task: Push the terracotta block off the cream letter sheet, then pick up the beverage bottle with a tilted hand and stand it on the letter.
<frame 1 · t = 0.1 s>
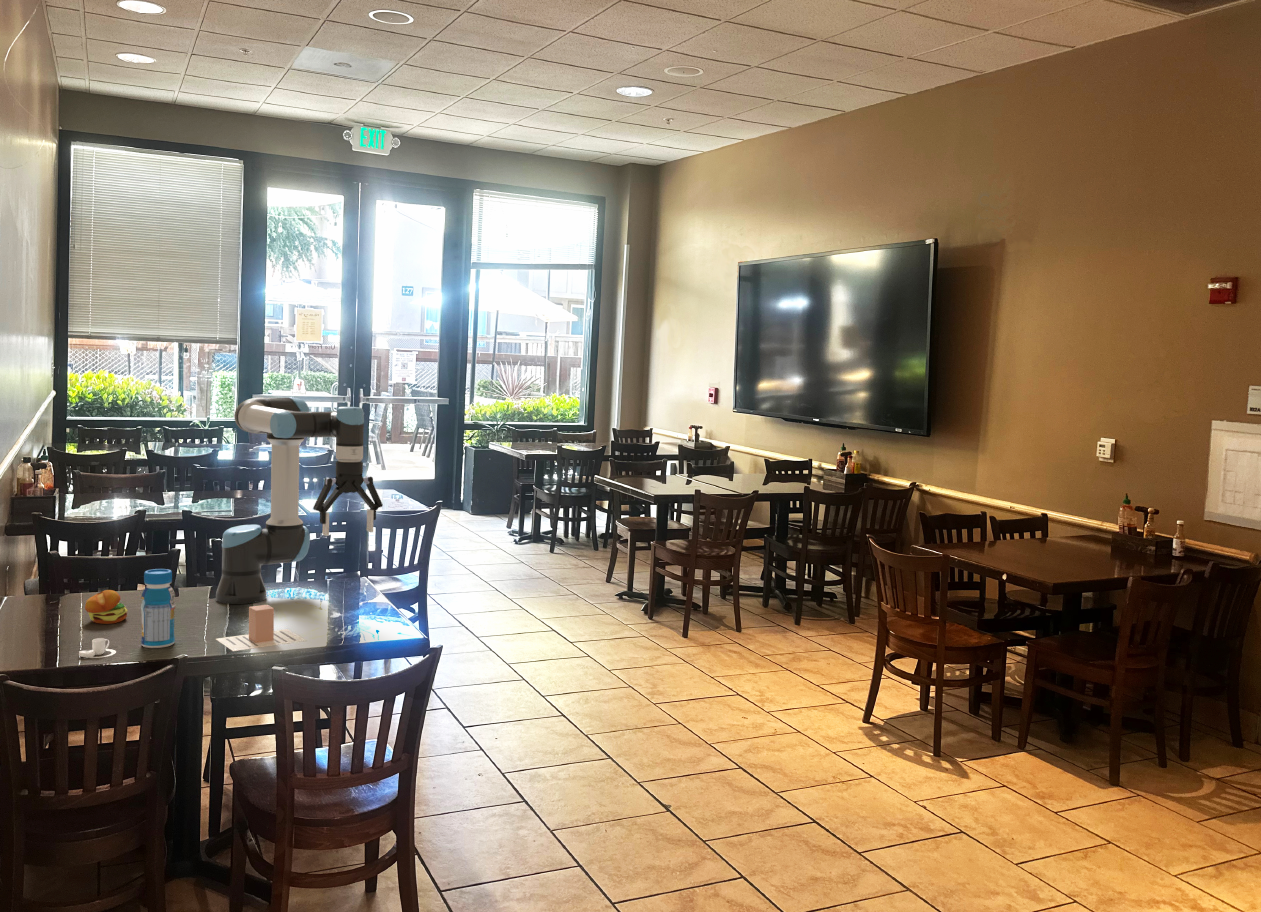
hand: (348, 533, 294), 28 cm above the table, fingers open, 13 cm apart
cheeseburger: (107, 621, 293), on the table
beverage bottle: (158, 645, 272), on the table
teacup and saucer: (86, 655, 262), on the table
letter: (261, 640, 280), on the table
block: (261, 639, 280), resting on letter
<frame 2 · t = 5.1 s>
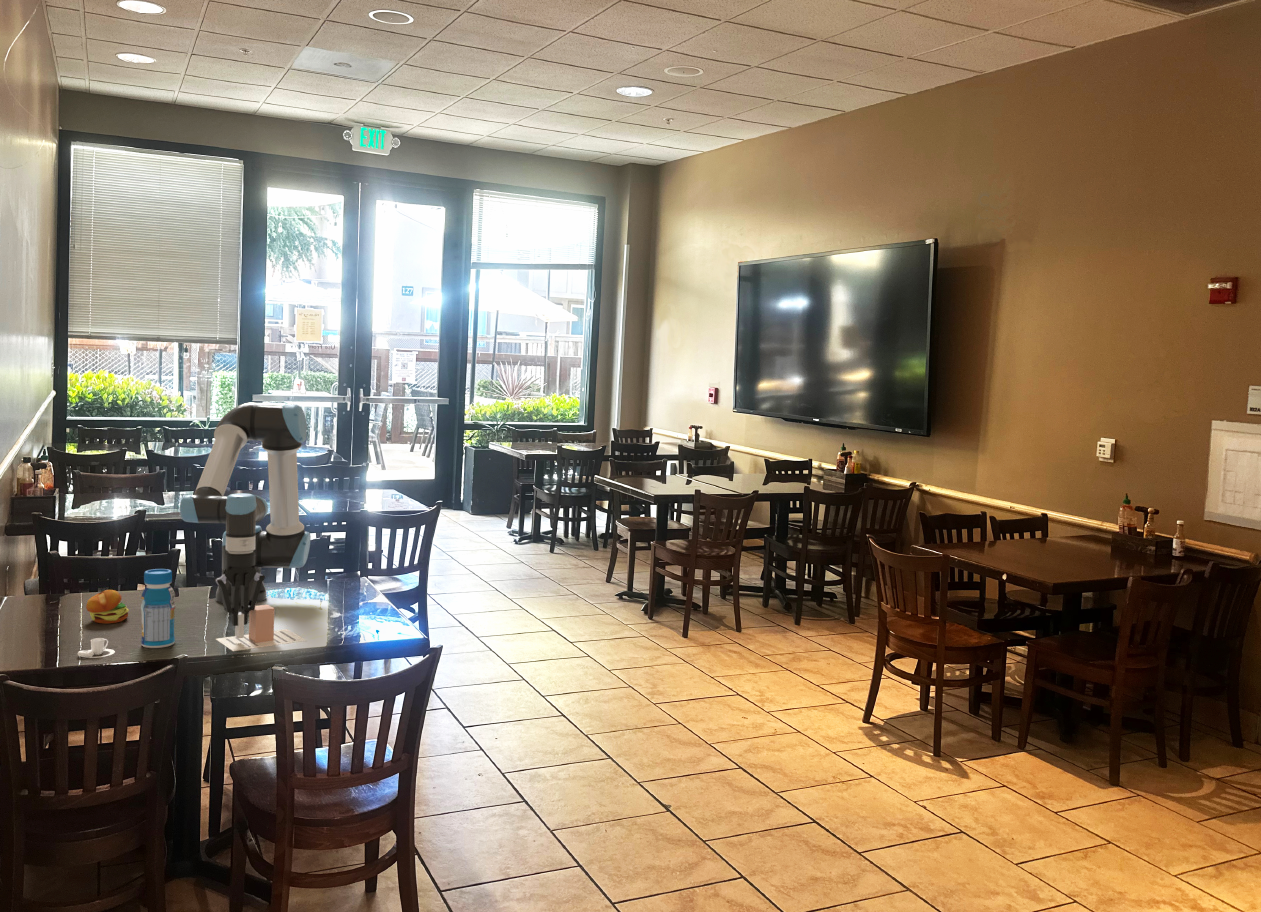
hand: (239, 636, 276), 2 cm above the table, fingers closed
block: (261, 639, 280), resting on letter, touching gripper, hand
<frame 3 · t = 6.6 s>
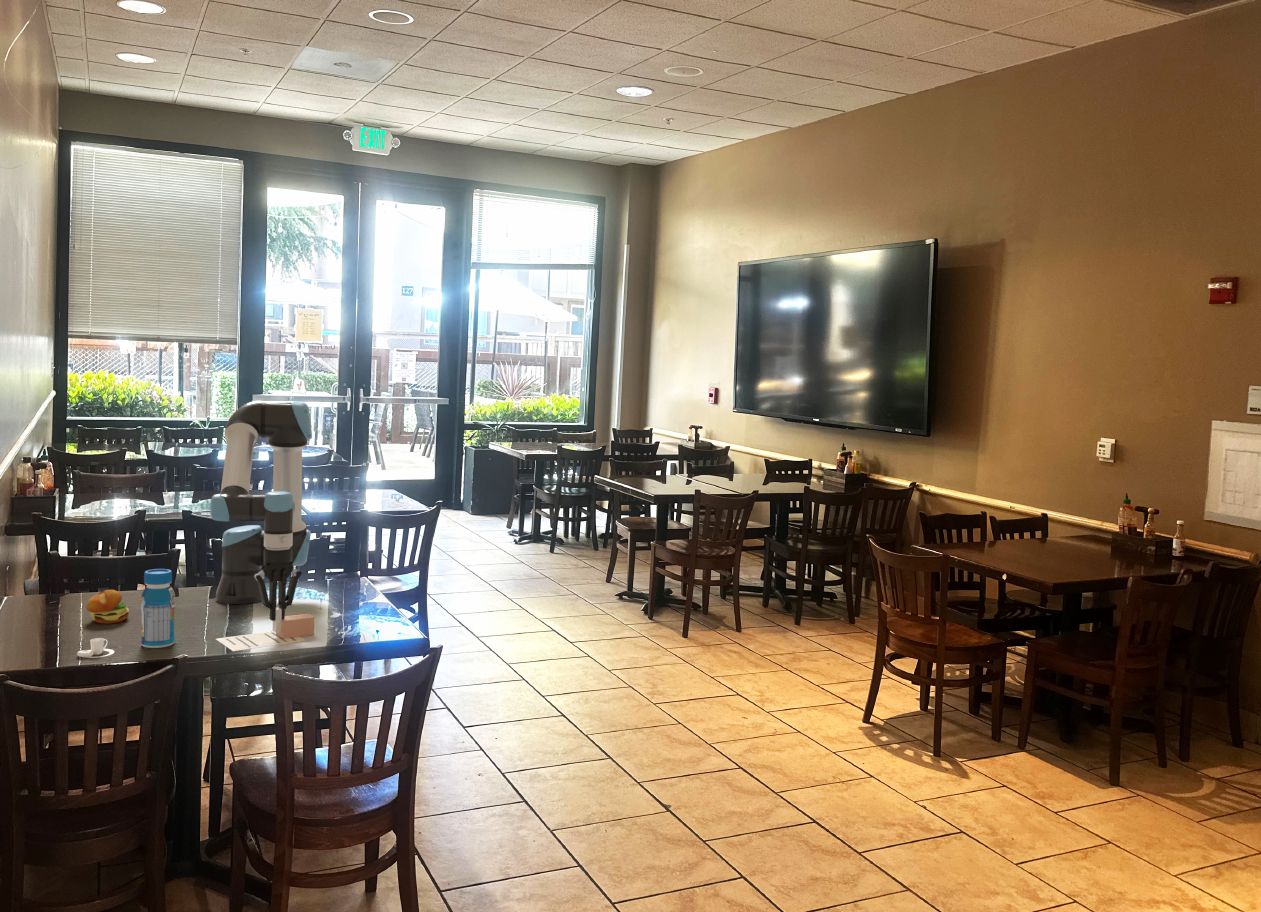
hand: (276, 631, 283), 2 cm above the table, fingers closed
block: (279, 627, 283), point 3 cm above the table, tilted 91°, touching gripper
everything else where it was.
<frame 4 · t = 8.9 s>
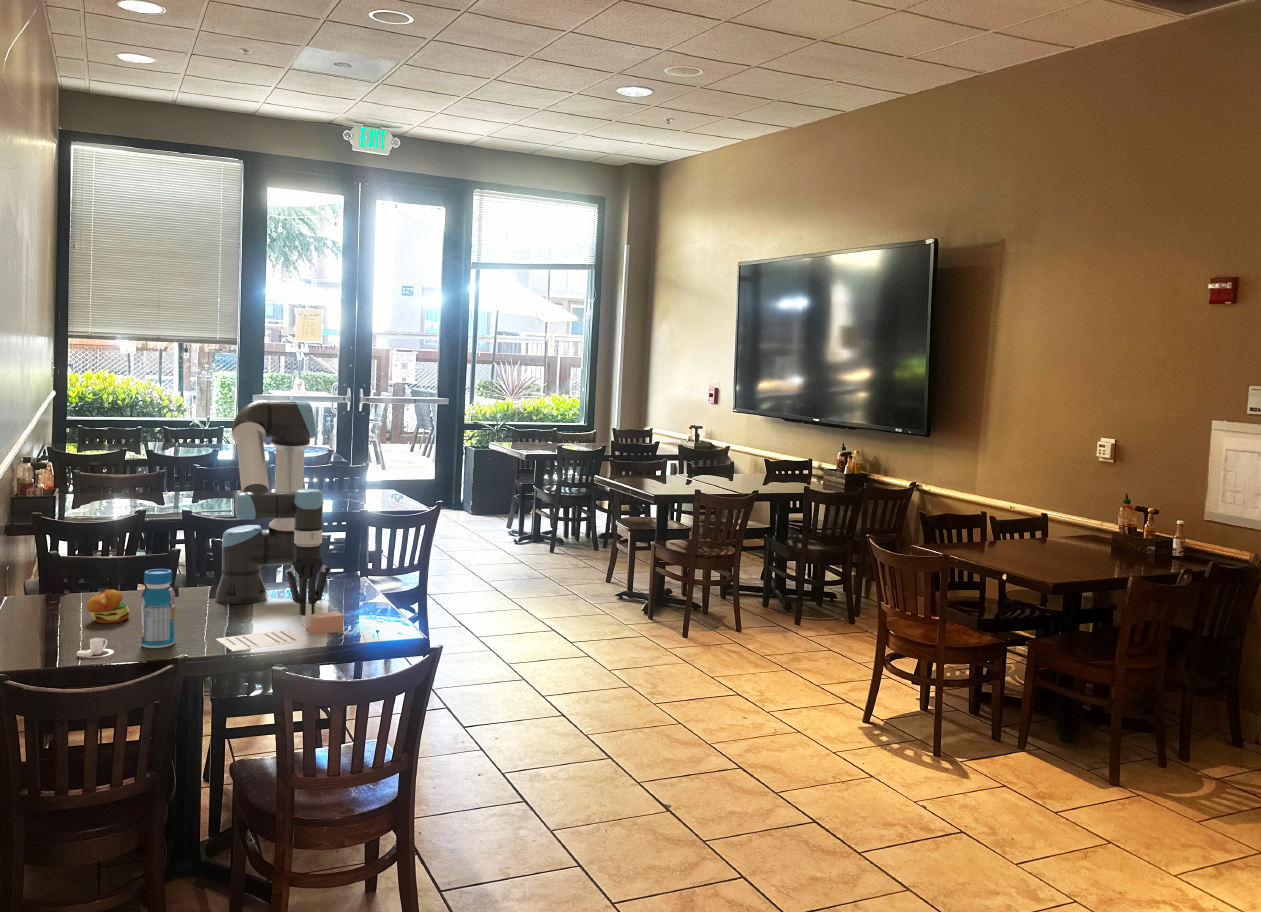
hand: (306, 626, 288), 2 cm above the table, fingers closed
block: (309, 625, 289), point 2 cm above the table, tilted 90°, touching gripper
everything else where it was.
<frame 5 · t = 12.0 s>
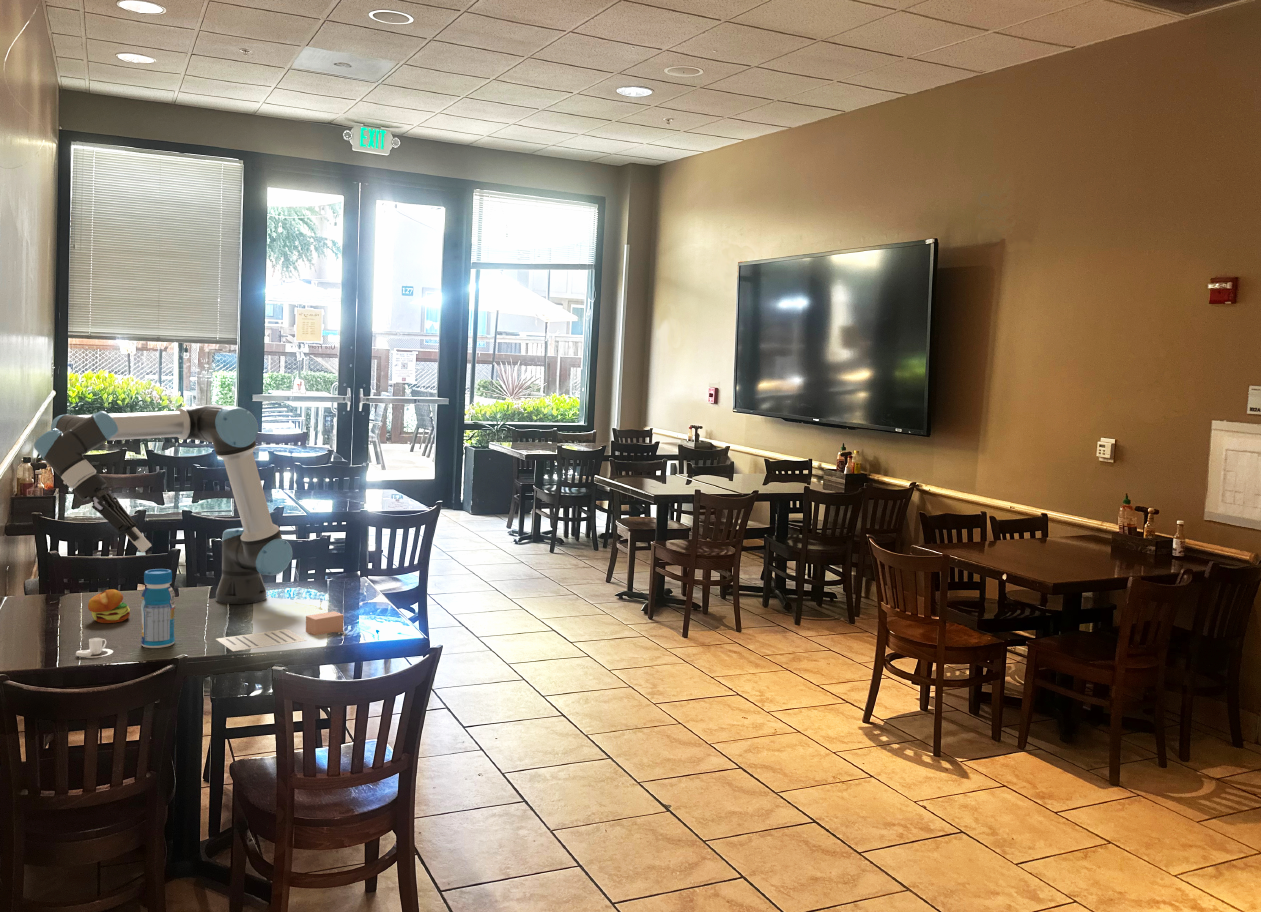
hand: (147, 548, 270), 26 cm above the table, fingers closed
block: (310, 626, 288), point 2 cm above the table, tilted 90°
everything else where it was.
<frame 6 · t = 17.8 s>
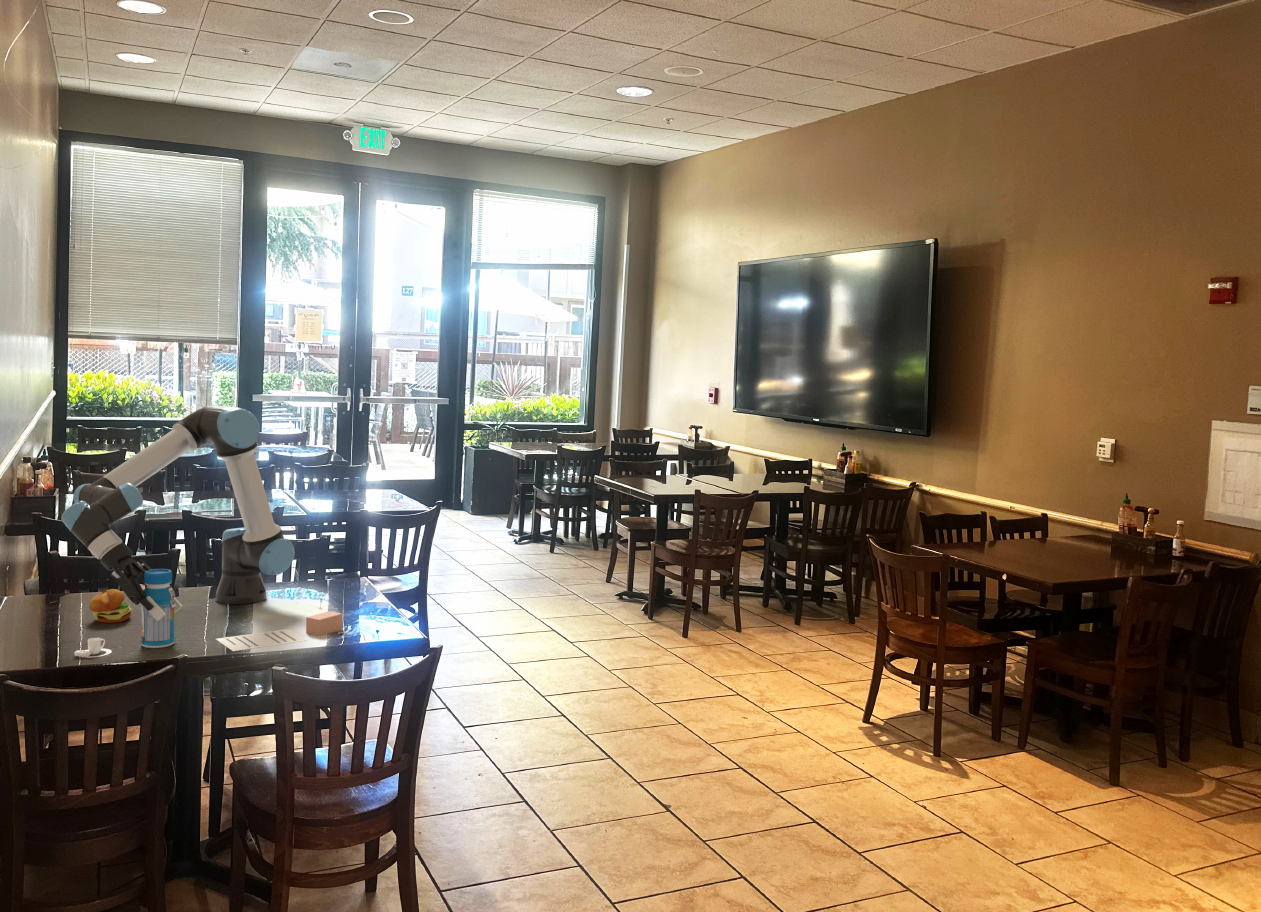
hand: (170, 613, 271), 9 cm above the table, fingers closed on beverage bottle, 8 cm apart
beverage bottle: (158, 645, 272), on the table, touching gripper
block: (312, 627, 288), point 2 cm above the table, tilted 90°
when the fingers open (10 cm above the table, at t = 24.4 s): beverage bottle drops 1 cm, resting on letter.
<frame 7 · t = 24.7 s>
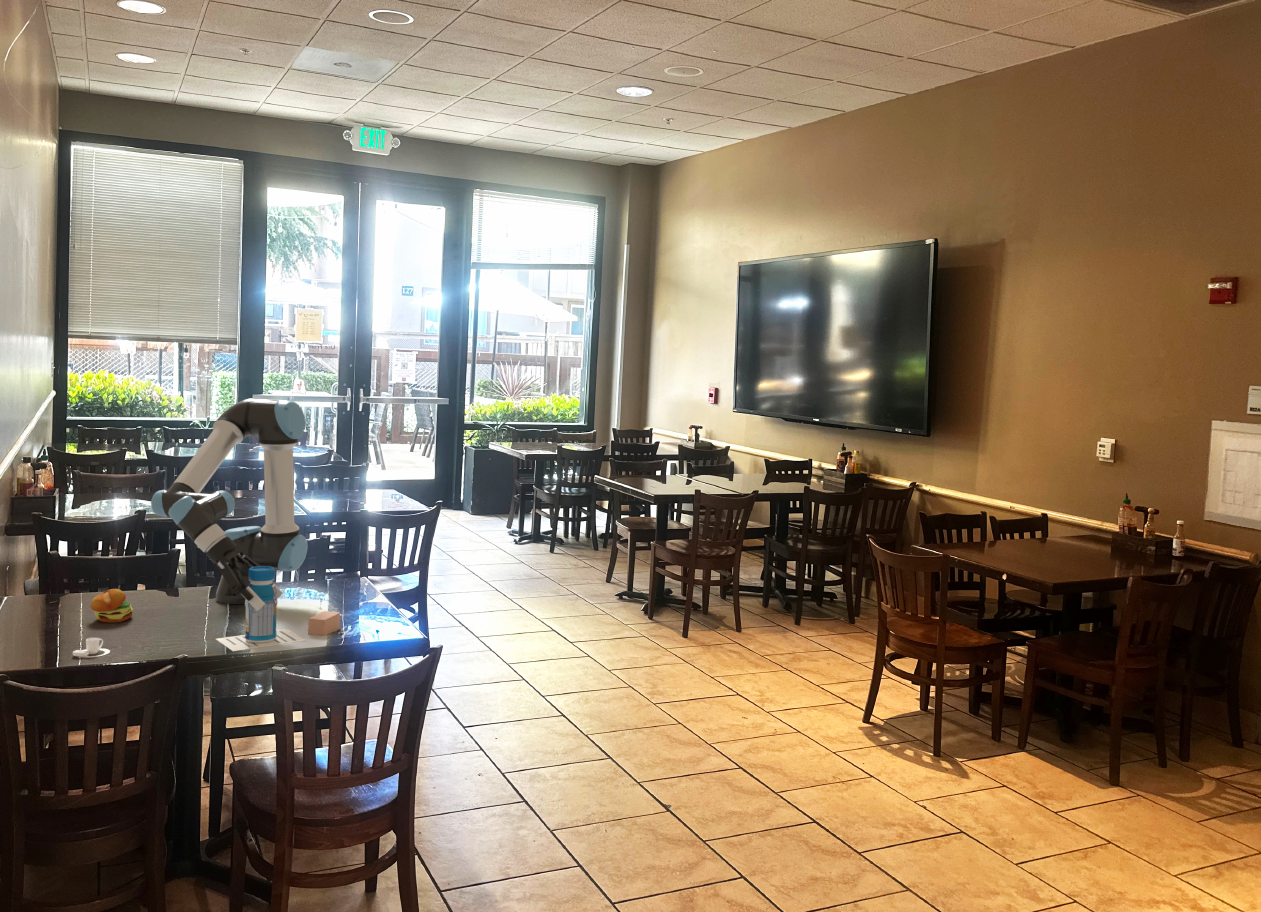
hand: (270, 602, 279), 11 cm above the table, fingers open, 12 cm apart
beverage bottle: (260, 640, 280), resting on letter
block: (316, 627, 287), point 2 cm above the table, tilted 90°
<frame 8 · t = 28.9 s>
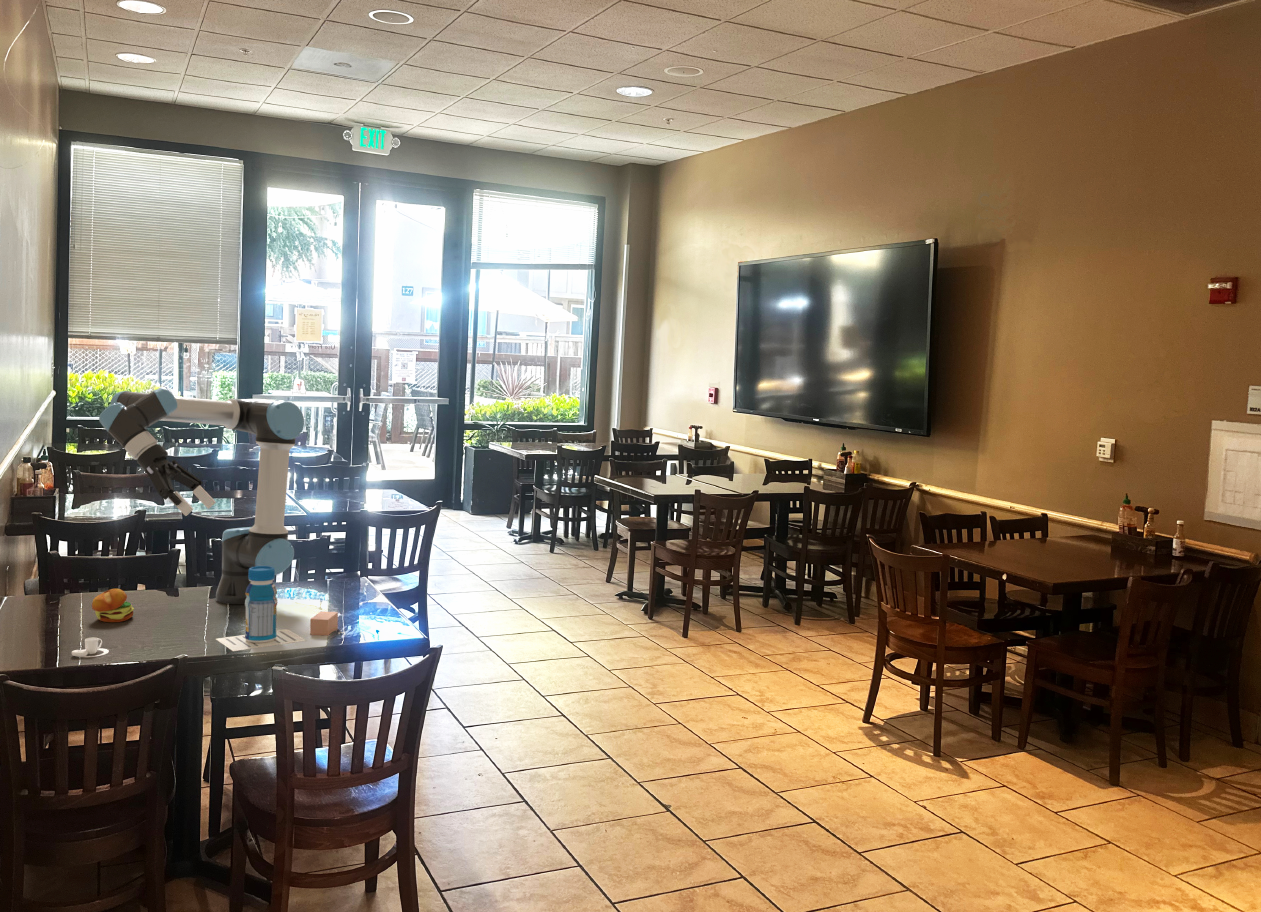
hand: (201, 509, 278), 36 cm above the table, fingers open, 13 cm apart
at the end: beverage bottle inside the target area on the letter (0.1 cm from its centre), point 0.1 cm above the letter's base; beverage bottle tilted 0°; block touching table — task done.
